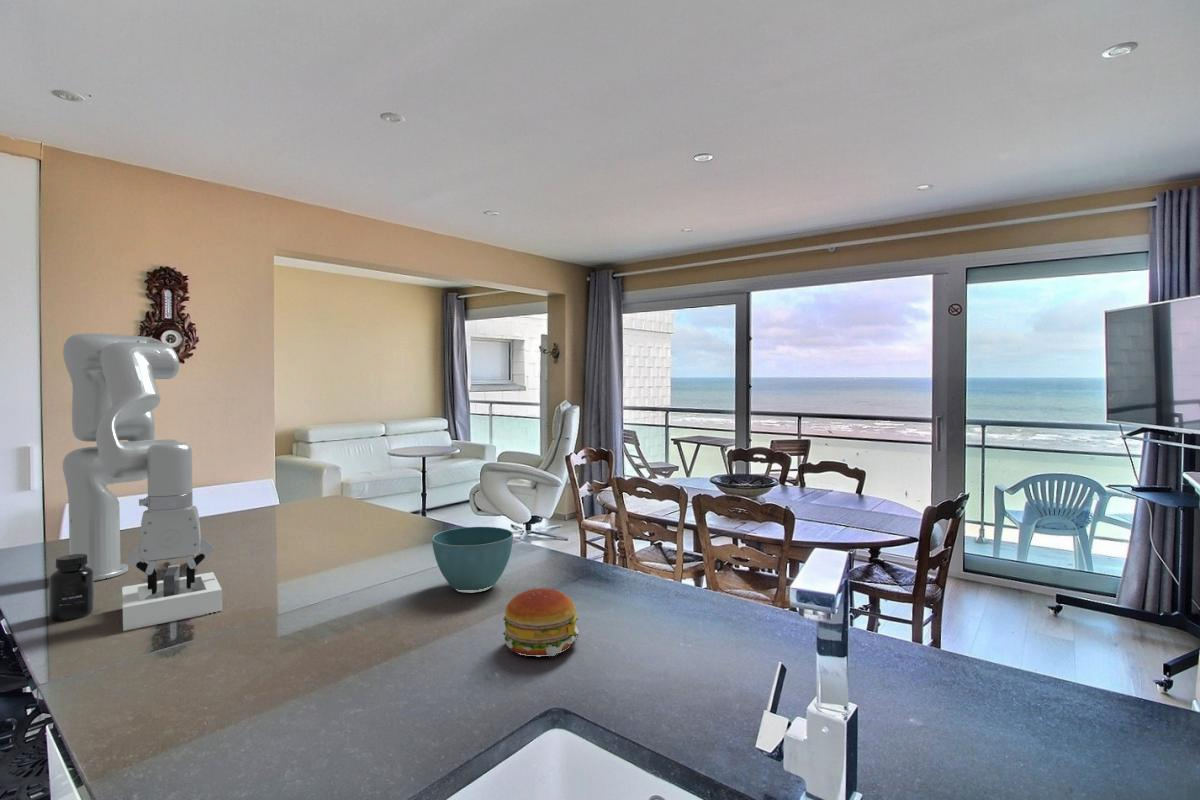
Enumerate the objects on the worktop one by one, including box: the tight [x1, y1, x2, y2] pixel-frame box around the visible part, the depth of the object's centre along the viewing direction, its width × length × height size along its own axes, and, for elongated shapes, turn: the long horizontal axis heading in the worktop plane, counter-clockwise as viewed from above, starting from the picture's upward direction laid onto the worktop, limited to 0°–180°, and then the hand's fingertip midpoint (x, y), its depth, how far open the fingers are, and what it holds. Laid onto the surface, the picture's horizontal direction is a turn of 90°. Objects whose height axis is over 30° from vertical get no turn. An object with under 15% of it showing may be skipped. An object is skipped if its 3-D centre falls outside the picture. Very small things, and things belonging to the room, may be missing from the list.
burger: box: [502, 587, 580, 657], centre depth 106 cm, size 13×14×10 cm
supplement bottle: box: [48, 554, 95, 622], centre depth 121 cm, size 7×7×12 cm
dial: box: [145, 564, 198, 600], centre depth 124 cm, size 9×9×7 cm
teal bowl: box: [431, 526, 514, 590], centre depth 137 cm, size 18×18×12 cm
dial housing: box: [121, 571, 223, 632], centre depth 124 cm, size 15×16×5 cm
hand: (171, 588), depth 124 cm, fingers open, 5 cm apart
